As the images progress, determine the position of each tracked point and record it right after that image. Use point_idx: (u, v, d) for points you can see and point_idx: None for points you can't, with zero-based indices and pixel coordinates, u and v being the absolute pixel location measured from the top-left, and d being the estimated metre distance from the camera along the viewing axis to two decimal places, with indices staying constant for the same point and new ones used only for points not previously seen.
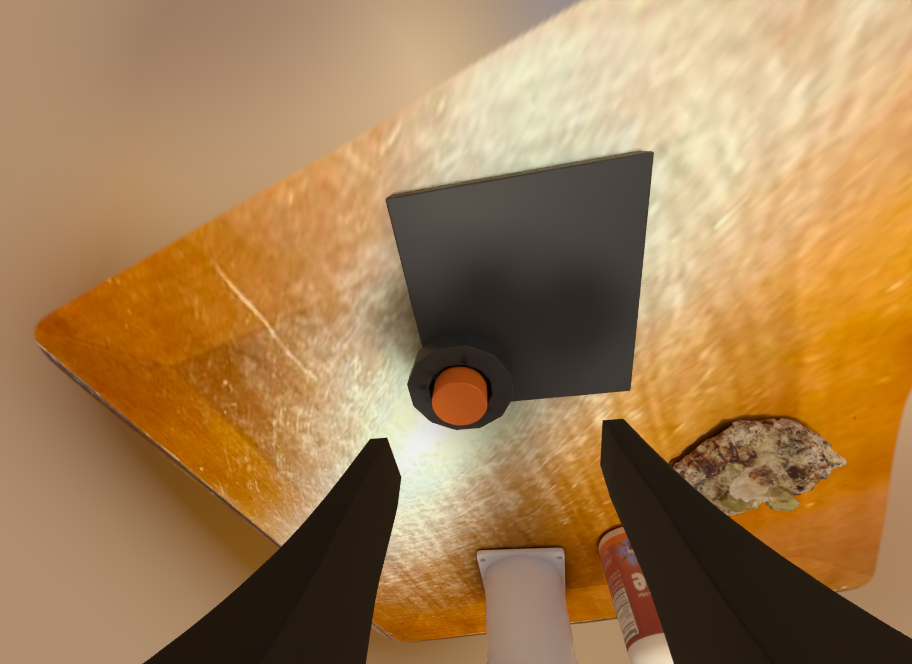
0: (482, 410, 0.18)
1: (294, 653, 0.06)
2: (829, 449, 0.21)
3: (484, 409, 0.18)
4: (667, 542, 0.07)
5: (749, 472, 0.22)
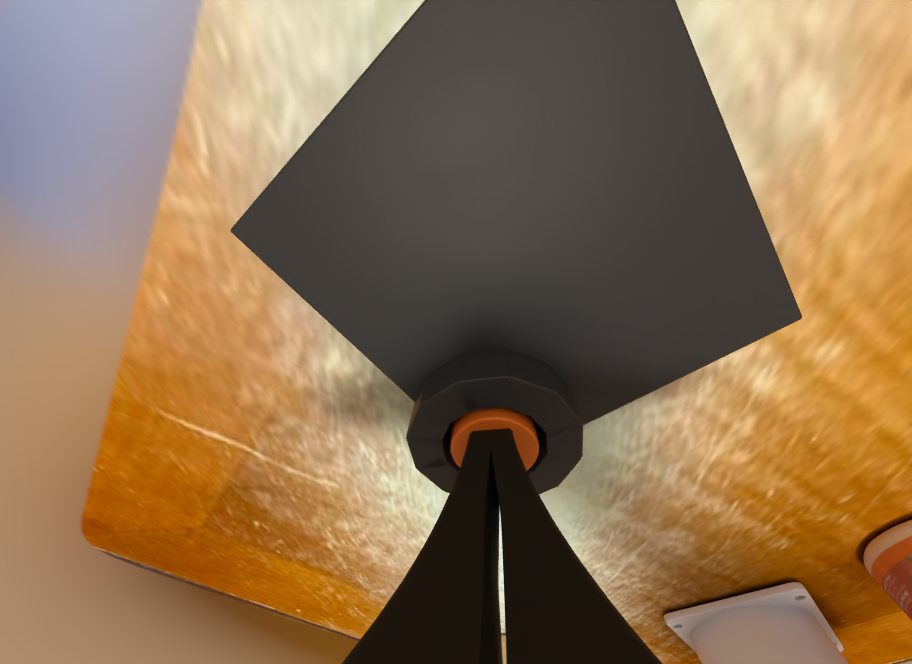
0: (532, 446, 0.11)
1: (486, 655, 0.06)
2: None
3: (534, 443, 0.11)
4: None
5: None
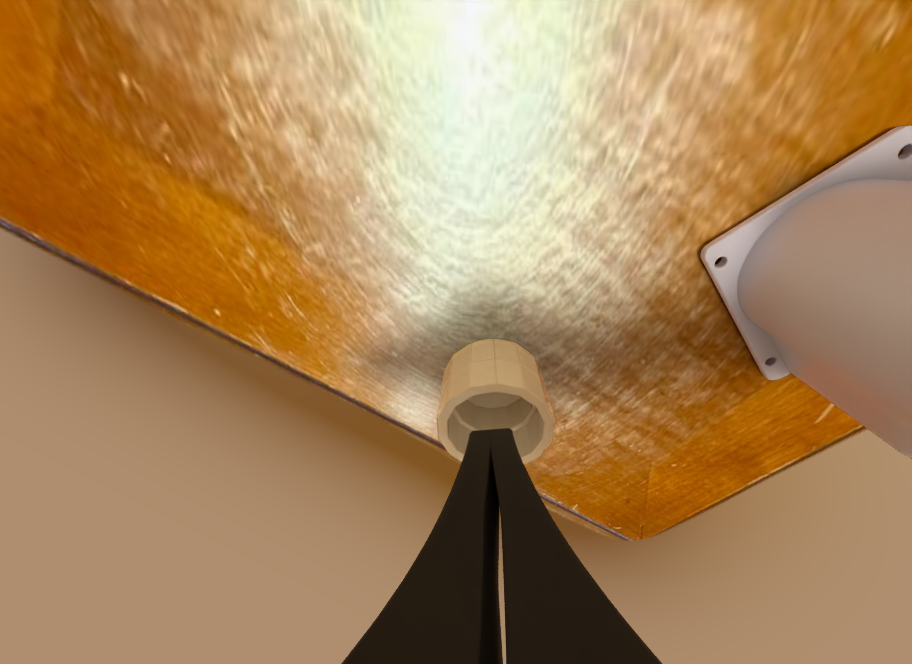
0: None
1: (485, 655, 0.06)
2: None
3: None
4: None
5: None
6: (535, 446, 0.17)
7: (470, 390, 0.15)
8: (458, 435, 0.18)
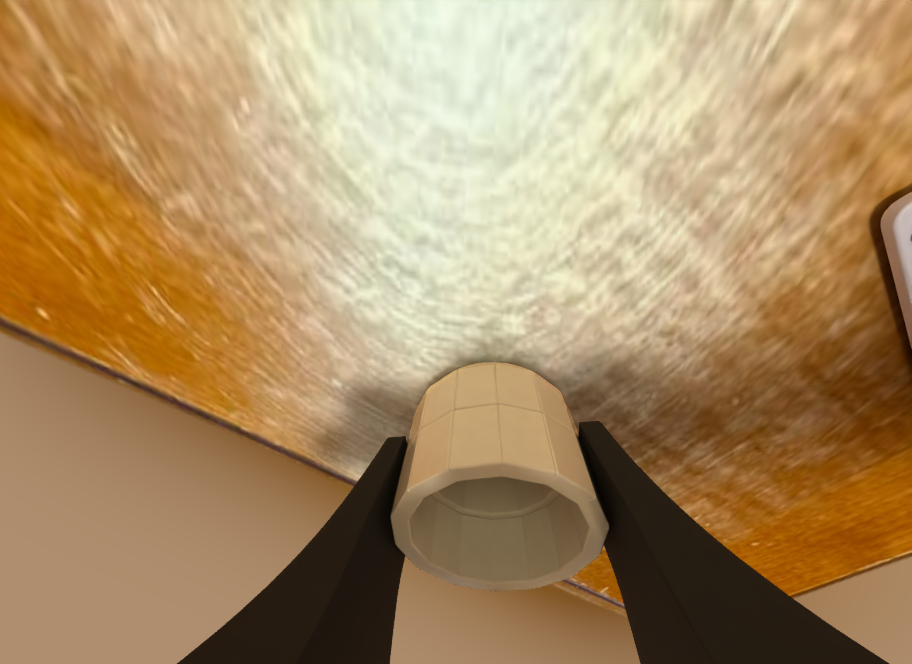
0: None
1: (327, 654, 0.06)
2: None
3: None
4: (632, 543, 0.07)
5: None
6: (568, 560, 0.09)
7: (450, 473, 0.08)
8: (434, 527, 0.11)
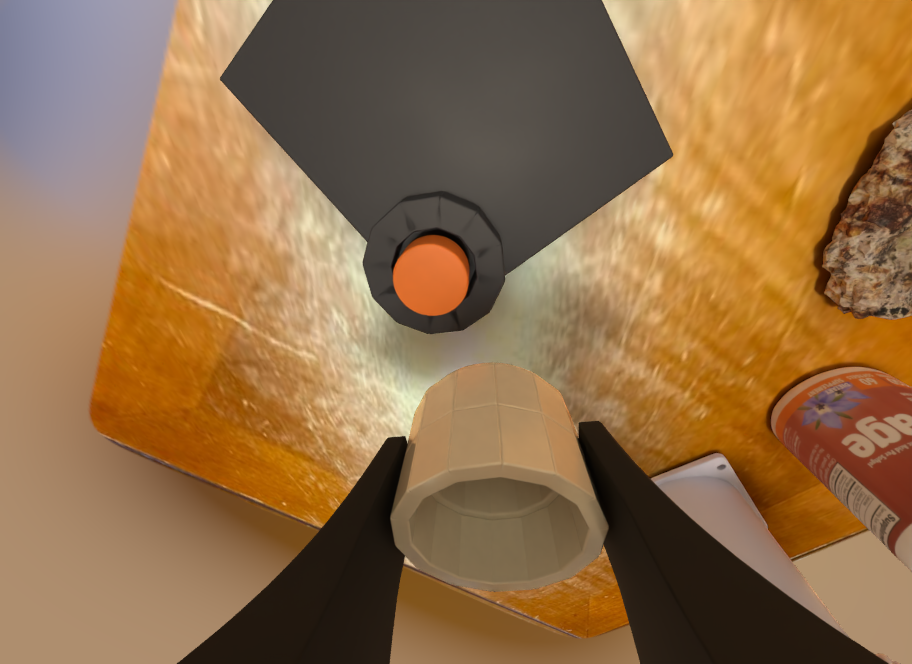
0: (461, 275, 0.13)
1: (327, 653, 0.06)
2: None
3: (463, 271, 0.13)
4: (632, 543, 0.07)
5: None
6: (567, 561, 0.09)
7: (450, 474, 0.08)
8: (433, 527, 0.11)
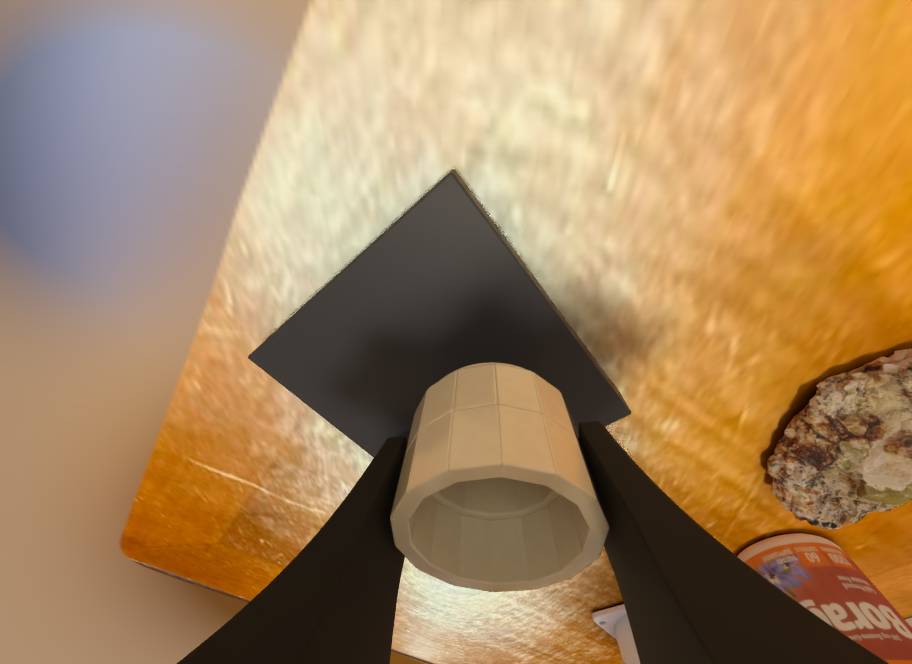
0: None
1: (326, 654, 0.06)
2: None
3: None
4: (632, 543, 0.07)
5: (883, 446, 0.15)
6: (568, 561, 0.09)
7: (450, 474, 0.08)
8: (433, 528, 0.11)
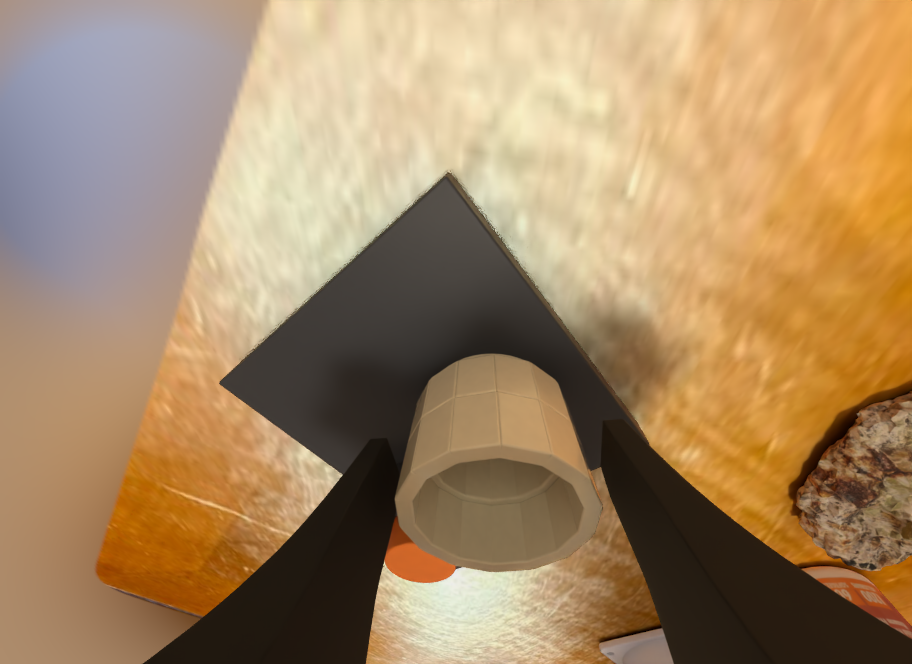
0: None
1: (294, 653, 0.06)
2: None
3: None
4: (667, 542, 0.07)
5: None
6: (564, 540, 0.10)
7: (452, 455, 0.08)
8: (435, 511, 0.11)
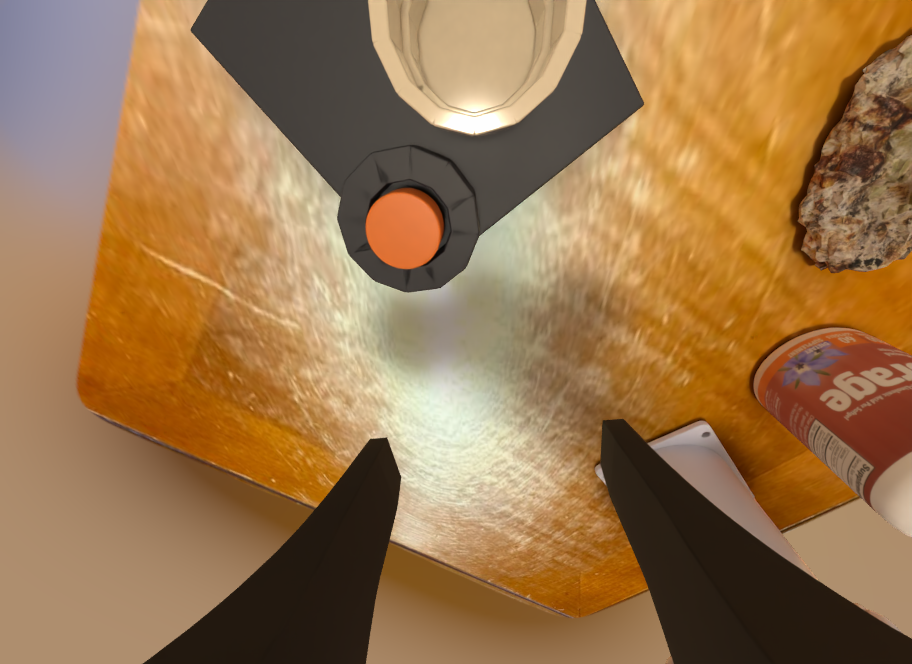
0: (433, 224, 0.13)
1: (294, 653, 0.06)
2: None
3: (434, 220, 0.13)
4: (667, 542, 0.07)
5: None
6: (549, 59, 0.09)
7: None
8: (414, 84, 0.10)
